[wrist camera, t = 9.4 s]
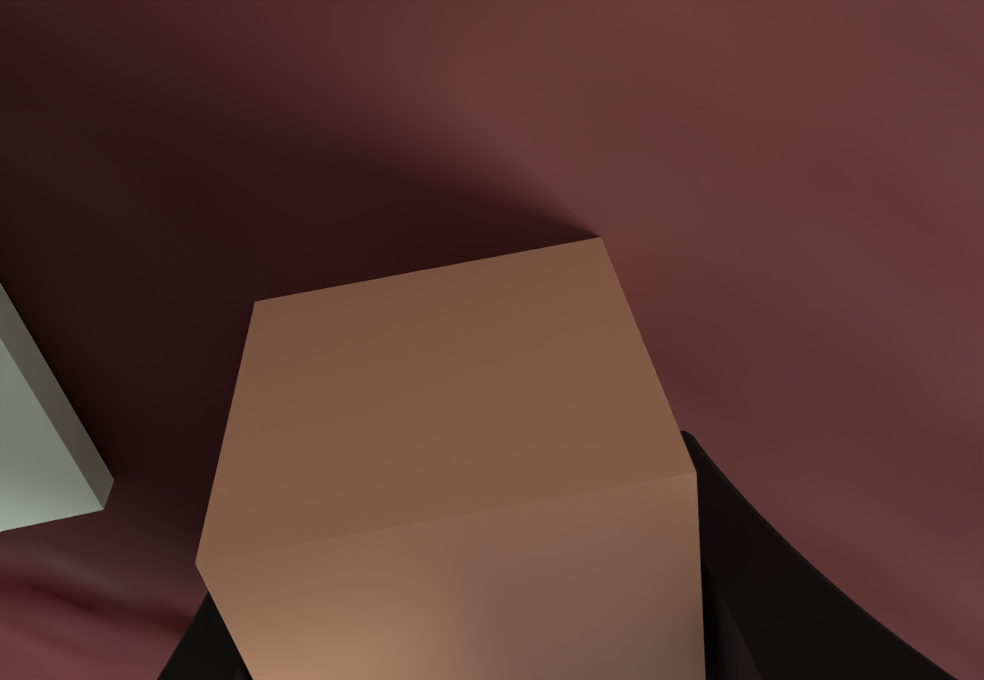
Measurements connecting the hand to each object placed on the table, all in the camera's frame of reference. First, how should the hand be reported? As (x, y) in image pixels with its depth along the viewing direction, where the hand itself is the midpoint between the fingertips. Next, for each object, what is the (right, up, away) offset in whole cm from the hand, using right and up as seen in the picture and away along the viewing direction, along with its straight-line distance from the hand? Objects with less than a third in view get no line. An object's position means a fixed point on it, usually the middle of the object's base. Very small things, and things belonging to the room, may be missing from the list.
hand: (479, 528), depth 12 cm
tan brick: (0, +1, +1) cm, 2 cm away
